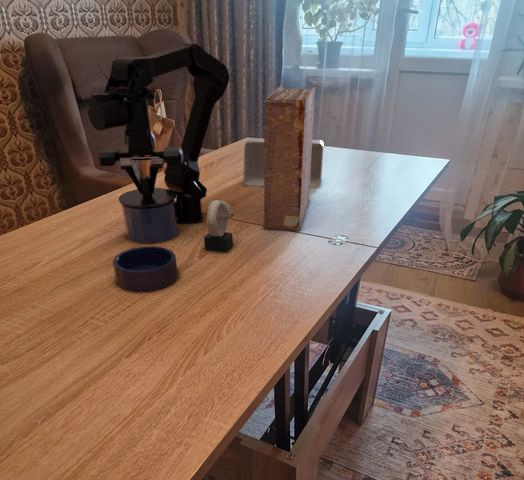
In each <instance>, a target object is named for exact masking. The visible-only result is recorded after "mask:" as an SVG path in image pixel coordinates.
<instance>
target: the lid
mask: <svg viewBox="0 0 524 480" xmlns="http://www.w3.org/2000/svg"><path fill="white" fill-rule="evenodd" d="M139 177H140V183H141V190H142V194H140V192H139V191H138V189H137V188H136V189H131V190H128V191H125V192H124V193H122V194H120V195H119V196H118V202H119V203H120V204H123V205H125V206H129V207H138V208H145V207H156V206H161V205H165V204H168V203H170V202H172V201H173V200H175V201H176V193H175V192H174V191H172V190H169V189H168V188H163V187H155V189H154V193H153V194H152V192H151V186H150V175H142V176H139Z"/></svg>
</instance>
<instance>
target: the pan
mask: <svg viewBox="0 0 524 480" xmlns="http://www.w3.org/2000/svg"><path fill="white" fill-rule="evenodd" d="M112 266H113V272H114V276H115V281H116V283H117V285H118V286H119V287H120V288H122V289H123V290H127V291H130V292H137V293H138V292H139V293H140V292H141V293H145V292H154V291H158V290H161V289H165V288H167V287H169V286H171V285H172V284H174V282H176V281H177V279H178V264H177V255H176V254H175V252H173V250H171V249H169V248H167V247H162V246H155V245H151V246H150V245H148V246H139V247H133V248H132V247H131V248H130V249H126V250H124V251H122V252H120V253H119V254H117V255H115V256H114V259H113V260H112Z"/></svg>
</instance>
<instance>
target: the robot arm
mask: <svg viewBox="0 0 524 480" xmlns="http://www.w3.org/2000/svg"><path fill="white" fill-rule="evenodd" d="M183 68H186V70H187V73H188V74H190V76H192V77H193V79H192V80H193V81H192V87H193V92H194V99H193V102H192V106H191V110H190V114H189V117H188V120H187V124H186V127H185V131H184V134H183V138H182V141H181V145H180V146H179V145H178V146H165V147H164V150H156V149H157V148H156V135H155V134H154V133H153V132H152V127H151V121H150V120H151V119H150V111H149V105H148V101H149V100H154V99H155V98H156V96H155V94H154V93H153V92H151V91H150V90H149V89H148V87H149V86H151V85H152V84H153V83H154V82H155V80H156V79H157V78H159V77H160V76H163V75H166V74H170V73H172V72H174V71H177V70H180V69H183ZM229 83H230V73H229V69H228V67H227V66H226V64H225V63H223V62H221V61H220V60H219V59H218V58H216V57H214V56H213V55H212V54H210V53H209V52H207V51H206V50H205V49H204V48H203V47H202V46H201V45H199V44H198V43H193V42H192V43H189V42H184V43H181V44H180V45H178V46H174V47H171V48H168V49H165V50H163V51H158V52H156V53H153V54H149V55H146V56H123V57H120V56H119V57H116V58H114V59H113V61H112V64H111V68H110V74H109V77H108V79H107V82H106V85H105V88H104V90H103V93H91V94H90V100H91V101H90V102H89V104H88V107H87V108H88V109H87V116H88V120H89V121H90V123H91V125H92V127H93V128H94V129H95V130H97V131H99V132H101V131H106V130H111V129H116V128H122V127H124V132H123V133H124V144H125V145H127V151H121V150H120V147H104V148H103V149H102V150H100V152H99V154H98V162H99V166H100V167H114V166H115V164H116V163H117V162H120V170H123V171H125V172H126V173H127V175H128V176H129V177H130V179H131V181H132V182H133V184H134V186H135V187H136V189H138V191H139V192H140V194H142V190H141V183H140V177H141V176H140V174H139V173H140V172H139V170H138V161H150V165H149V177H150V186H151V192H152V194H153V193H154V189H155V188H156V183H157V177H158V173H159V170H160V169H161V170H162V169H163V168H164V166H165V164H166V167H165V169H164V171H163V174H164V181H163V182H164V183H165V186H166V188H167V189H169V190H172V191H174V192H175V193H176V198H175V209H176V218H177V224H178V223H179V224H180V223H202V222H203V216H204V213H203V209H202V200H203V199H204V198H206V196H207V191H208V190H207V189H208V188H207V187H206V186H205V185H204V184H203V182H202V183H201V181H200V175H201V172H200V166H199V162H198V161H199V158H200V154H201V150H202V148H203V143H204V140H205V138H206V134H207V130H208V126H209V124H210V120H211V117H212V114H213V111H214V106H215V104H216V103H217V102H218V101H219V100H220V99H221V98H222V97H223V96H224V94H225V92H226V91H227V87H228V86H229Z"/></svg>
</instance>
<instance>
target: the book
mask: <svg viewBox="0 0 524 480" xmlns="http://www.w3.org/2000/svg"><path fill="white" fill-rule="evenodd" d="M315 94H316V87H315V86H312V88H283V86H282V85H280V86H278V87H277V88H276V89H275V90H274V91H273V92H272V93H271V94H270V95H268V96H267V97H266V98H265V99H264V100H263V101H264V107H263V109H264V111H263V112H264V115H263V117H264V123H263V124H264V125H263V129H264V131H263V132H264V133H263V136H264V138H263V139H264V186H263V198H264V199H263V205H264V206H263V210H264V211H263V215H264V216H263V218H264V219H263V229H267V230H281V231H295V232H296V231H297V232H299V231H300V230H301V226H302V224H303V221H304V217H305V214H306V211H307V208H308V204H309V202H310V189H311V188H310V170H311V151H312V140H313V132H314V131H313V130H314V129H313V128H314V114H315V113H314V112H315Z"/></svg>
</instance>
